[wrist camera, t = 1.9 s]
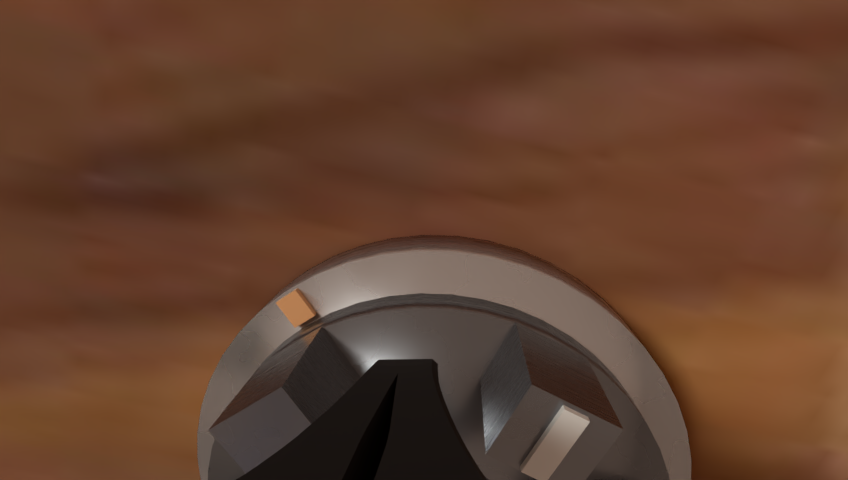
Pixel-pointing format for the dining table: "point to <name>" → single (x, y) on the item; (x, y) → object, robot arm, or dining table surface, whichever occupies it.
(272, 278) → the dining table surface
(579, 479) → the finned metal hub
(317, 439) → the robot arm
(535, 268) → the cap base
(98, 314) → the dining table surface
